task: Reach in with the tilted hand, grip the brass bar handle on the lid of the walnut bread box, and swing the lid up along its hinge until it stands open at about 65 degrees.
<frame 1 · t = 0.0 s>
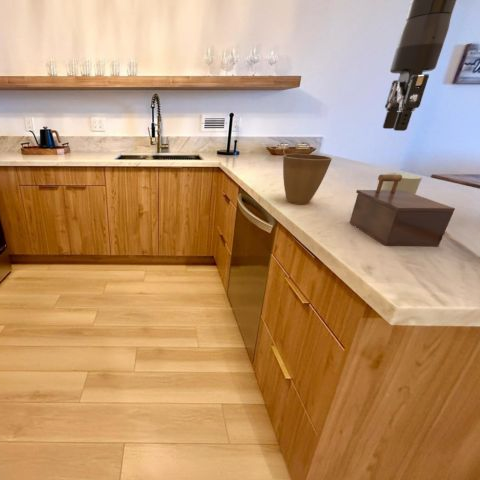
hand: (393, 129, 65), 26 cm above the counter, tool pointing down, fingers open, 8 cm apart
box lid: (403, 190, 72), point 12 cm above the counter, hinge at 0.0°
bread box: (389, 233, 77), on the counter
plant pot: (297, 202, 104), on the counter
cream yellow block: (390, 211, 94), on the counter
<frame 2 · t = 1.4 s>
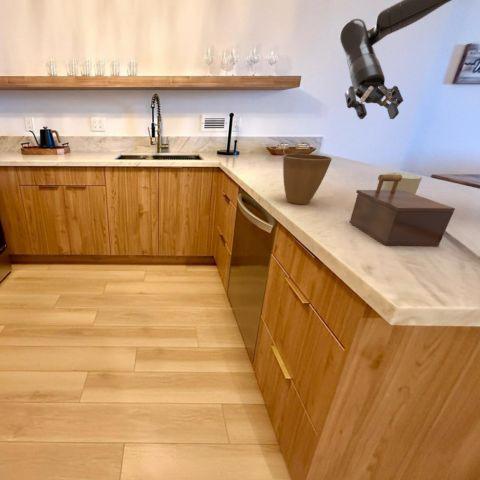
hand: (378, 117, 81), 28 cm above the counter, tool tilted 45°, fingers open, 8 cm apart
nothing on the counter moved.
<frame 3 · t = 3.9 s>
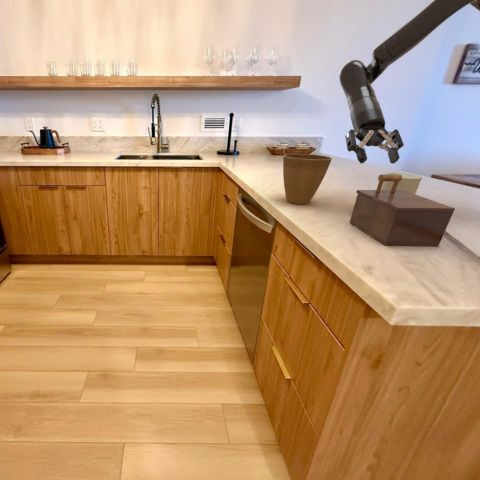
hand: (379, 161, 81), 17 cm above the counter, tool tilted 45°, fingers open, 8 cm apart
nothing on the counter moved.
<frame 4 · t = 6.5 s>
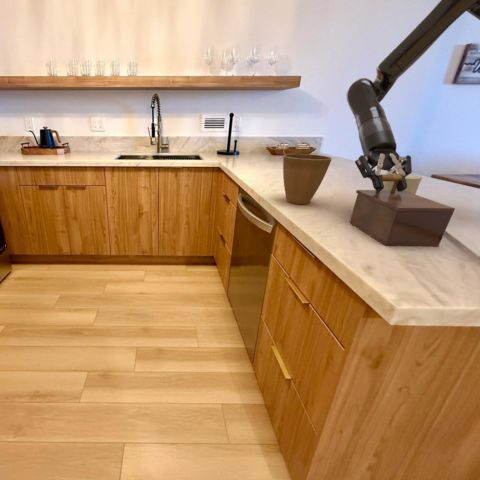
hand: (391, 189, 76), 11 cm above the counter, tool tilted 45°, fingers closed on box lid, 5 cm apart
box lid: (403, 190, 72), point 12 cm above the counter, hinge at 0.0°, touching gripper
everything else where it was.
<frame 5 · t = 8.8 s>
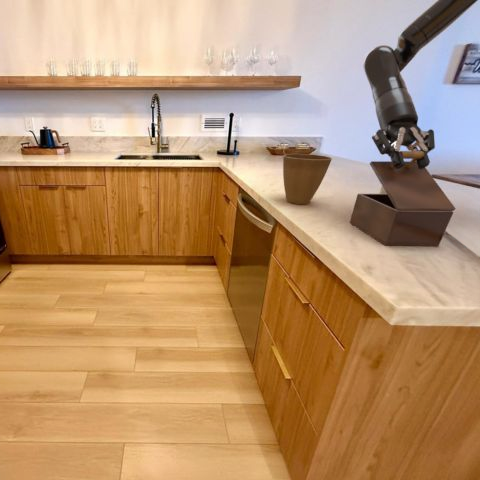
hand: (412, 166, 70), 18 cm above the counter, tool tilted 45°, fingers closed on box lid, 5 cm apart
box lid: (416, 177, 68), point 15 cm above the counter, hinge at 30.6°, touching gripper
everything else where it was.
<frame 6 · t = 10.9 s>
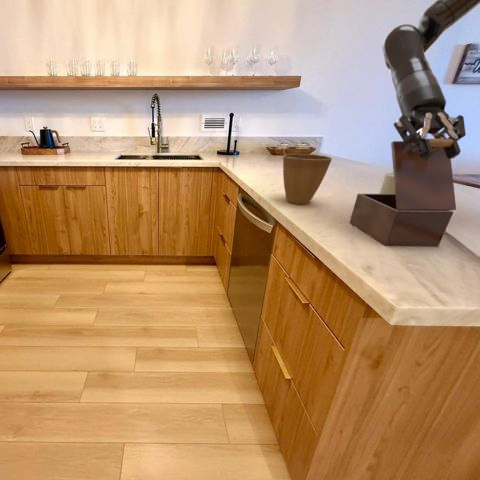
hand: (440, 156, 62), 21 cm above the counter, tool tilted 45°, fingers closed on box lid, 5 cm apart
box lid: (432, 171, 64), point 18 cm above the counter, hinge at 58.8°, touching gripper
everything else where it was.
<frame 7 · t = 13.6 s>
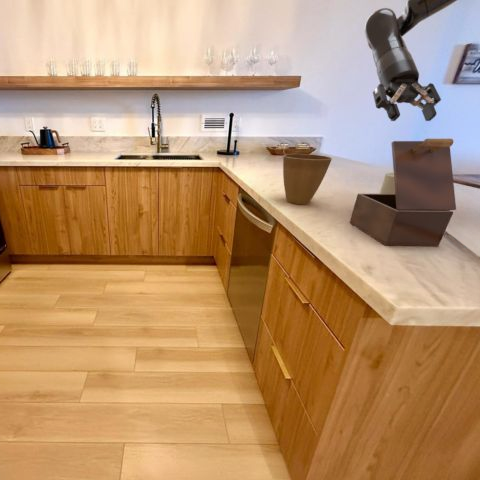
hand: (413, 118, 71), 28 cm above the counter, tool tilted 45°, fingers open, 8 cm apart
box lid: (432, 171, 64), point 18 cm above the counter, hinge at 59.1°
everything else where it was.
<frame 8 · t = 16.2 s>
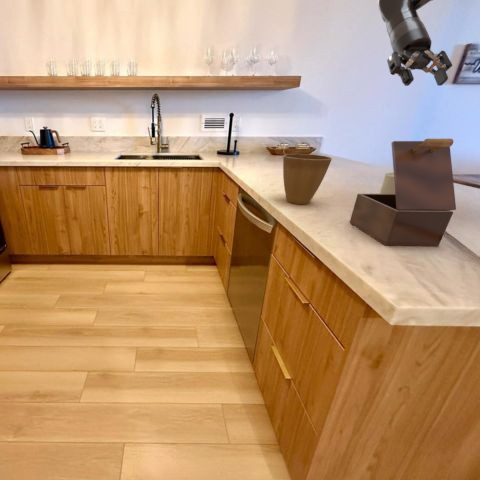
hand: (426, 82, 76), 37 cm above the counter, tool tilted 45°, fingers open, 8 cm apart
nothing on the counter moved.
at the end: box lid at +59° (first picture: +0°) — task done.
